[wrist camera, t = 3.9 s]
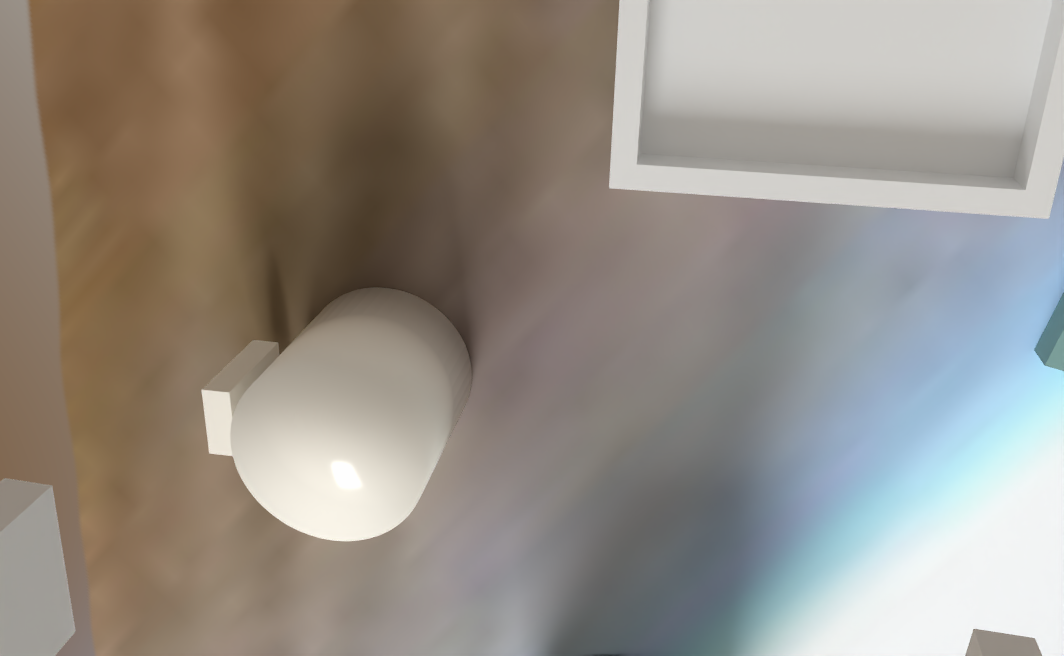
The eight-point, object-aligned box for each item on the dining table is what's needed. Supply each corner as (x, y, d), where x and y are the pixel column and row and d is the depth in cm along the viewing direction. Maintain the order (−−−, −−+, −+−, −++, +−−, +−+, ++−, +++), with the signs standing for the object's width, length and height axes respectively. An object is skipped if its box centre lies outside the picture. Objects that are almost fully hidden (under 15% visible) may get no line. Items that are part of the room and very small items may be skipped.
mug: (471, 294, 44) (424, 373, 37) (472, 451, 48) (427, 552, 40) (262, 276, 46) (176, 349, 39) (275, 430, 49) (199, 523, 42)
